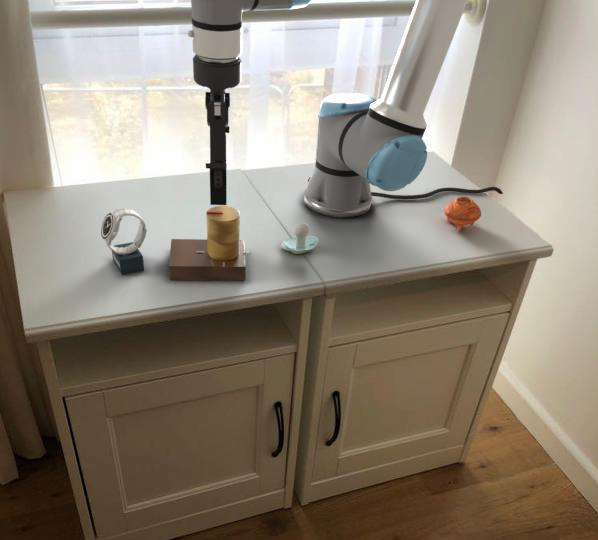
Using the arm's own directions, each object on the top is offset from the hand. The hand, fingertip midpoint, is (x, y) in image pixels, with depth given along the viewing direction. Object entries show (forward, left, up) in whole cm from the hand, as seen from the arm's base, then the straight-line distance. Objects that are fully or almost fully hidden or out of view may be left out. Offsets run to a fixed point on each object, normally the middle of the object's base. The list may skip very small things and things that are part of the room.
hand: (218, 186), depth 117 cm
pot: (-53, -18, -16) cm, 58 cm away
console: (+2, 0, -16) cm, 16 cm away
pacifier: (-16, -7, -16) cm, 23 cm away
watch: (+17, 0, -16) cm, 24 cm away
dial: (-1, 0, -13) cm, 13 cm away
